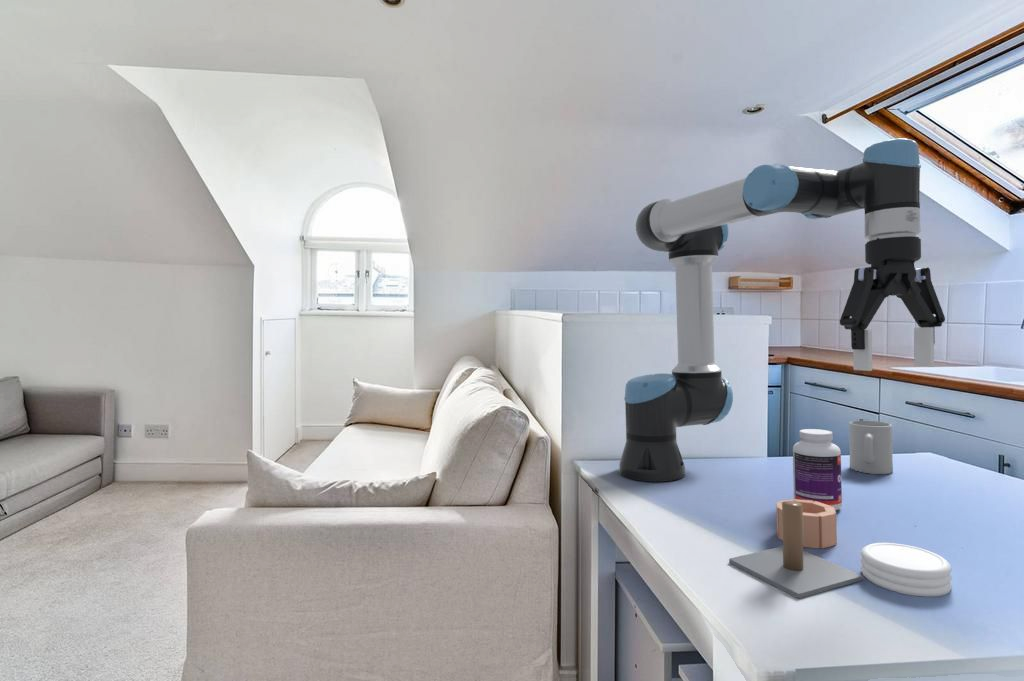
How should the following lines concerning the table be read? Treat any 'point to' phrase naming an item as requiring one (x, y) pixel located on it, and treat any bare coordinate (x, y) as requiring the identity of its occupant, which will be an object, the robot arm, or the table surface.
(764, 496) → the table surface
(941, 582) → the coaster
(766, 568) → the post block
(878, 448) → the mug
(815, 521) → the ring
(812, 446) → the pill bottle
